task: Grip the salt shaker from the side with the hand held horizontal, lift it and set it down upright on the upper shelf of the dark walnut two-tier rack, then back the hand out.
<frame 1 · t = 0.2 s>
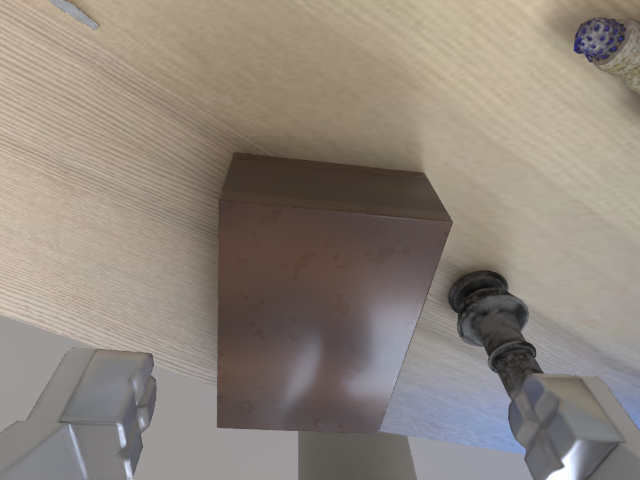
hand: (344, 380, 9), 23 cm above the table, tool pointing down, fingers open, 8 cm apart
shelf: (312, 281, 37), on the table
salt shaker: (477, 292, 39), on the table
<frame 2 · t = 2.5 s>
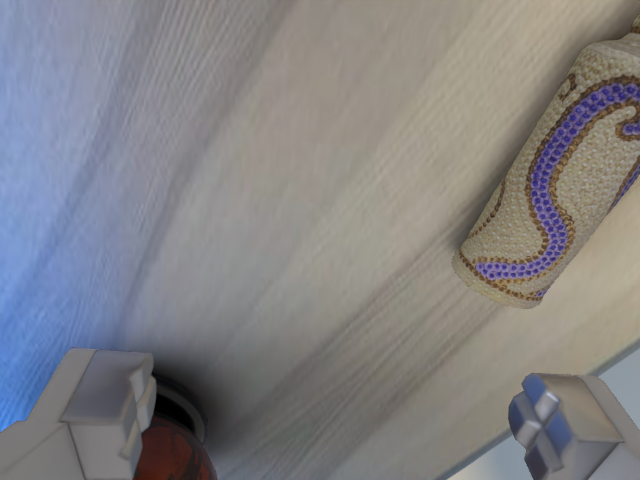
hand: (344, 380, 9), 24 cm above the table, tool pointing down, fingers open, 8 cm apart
amphora vase: (134, 412, 47), on the table
decorative bottle: (569, 135, 32), on the table
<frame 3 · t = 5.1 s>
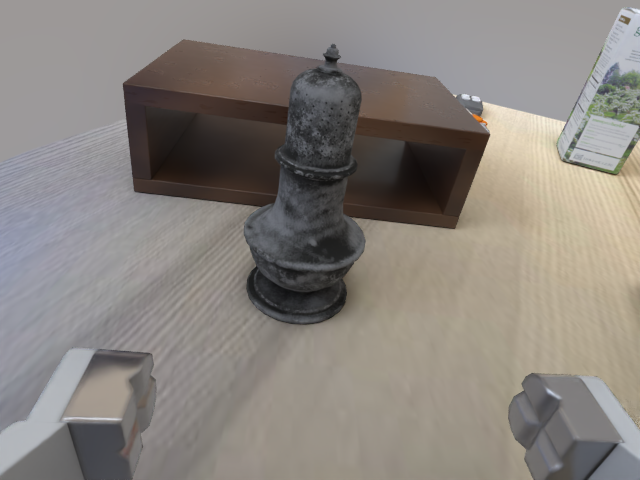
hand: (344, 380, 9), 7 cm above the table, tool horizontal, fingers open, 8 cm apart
syrup box: (583, 161, 47), on the table
key chain: (469, 119, 55), on the table
shelf: (301, 167, 35), on the table
salt shaker: (296, 290, 23), on the table
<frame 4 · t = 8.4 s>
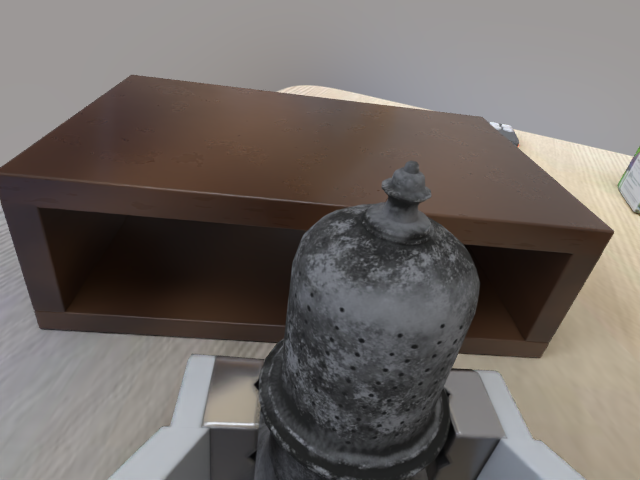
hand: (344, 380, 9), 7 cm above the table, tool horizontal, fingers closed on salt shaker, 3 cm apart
key chain: (502, 154, 45), on the table
shelf: (303, 252, 25), on the table
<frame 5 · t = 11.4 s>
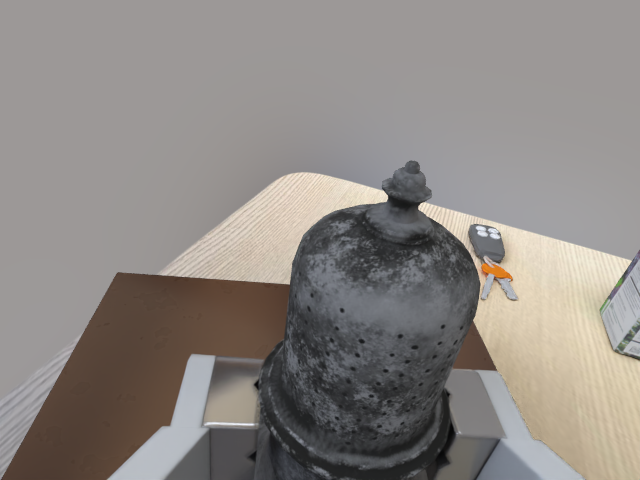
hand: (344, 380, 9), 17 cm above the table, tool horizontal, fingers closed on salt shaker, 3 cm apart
syrup box: (637, 343, 38), on the table
key chain: (488, 266, 45), on the table
shelf: (285, 451, 25), on the table
when the fingers open (14 cm above the table, at t = 14.2 s): salt shaker stays where it is, resting on shelf.
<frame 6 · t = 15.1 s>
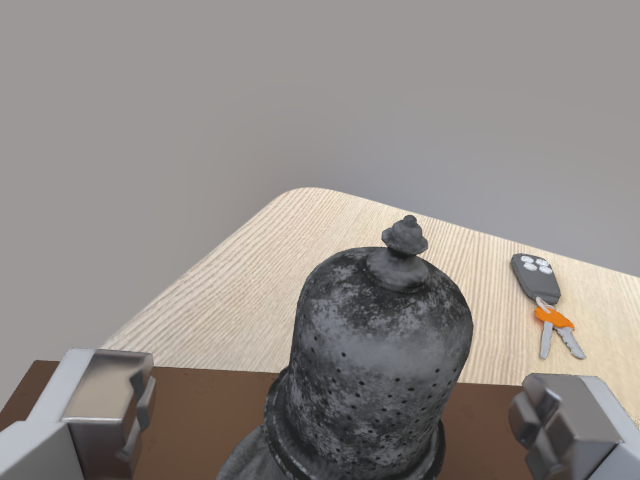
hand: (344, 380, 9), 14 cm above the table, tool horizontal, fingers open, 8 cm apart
key chain: (541, 309, 36), on the table
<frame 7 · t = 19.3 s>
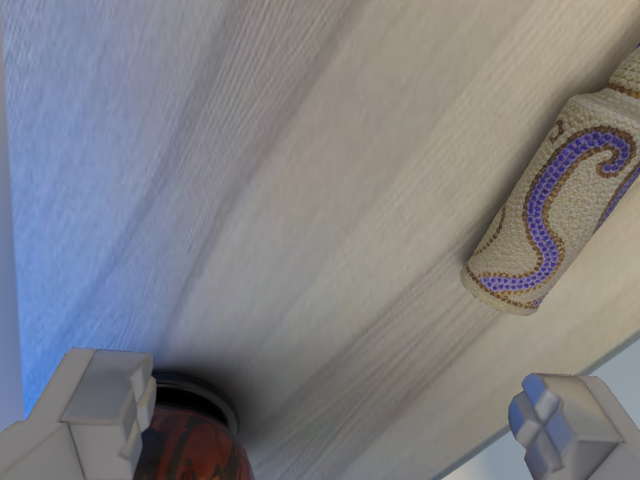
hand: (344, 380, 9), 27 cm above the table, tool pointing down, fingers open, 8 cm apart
amphora vase: (172, 411, 52), on the table
decorative bottle: (559, 166, 37), on the table
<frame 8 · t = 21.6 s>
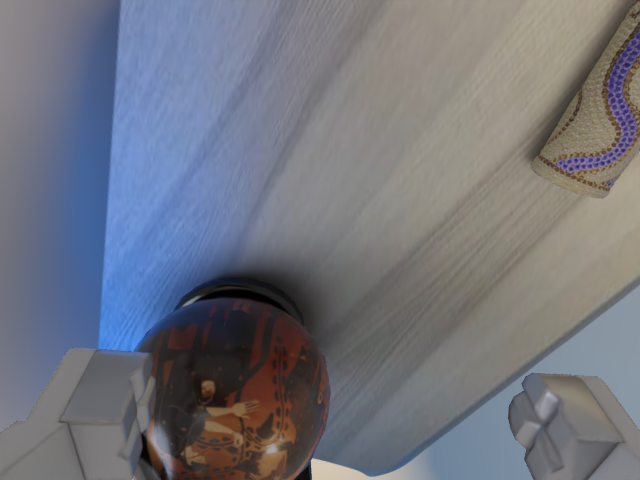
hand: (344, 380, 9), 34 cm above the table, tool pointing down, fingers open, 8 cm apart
amphora vase: (240, 322, 55), on the table
decorative bottle: (631, 55, 39), on the table
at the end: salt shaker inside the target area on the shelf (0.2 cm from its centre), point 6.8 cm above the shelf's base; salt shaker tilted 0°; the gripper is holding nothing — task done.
